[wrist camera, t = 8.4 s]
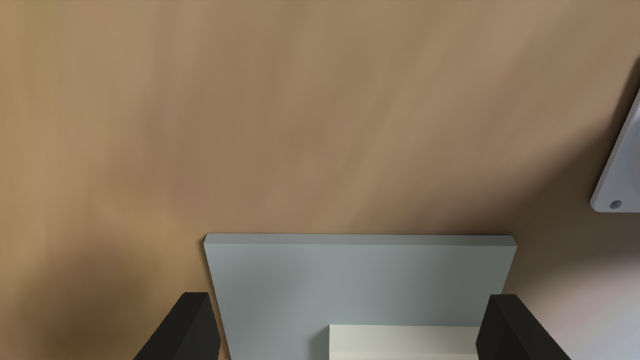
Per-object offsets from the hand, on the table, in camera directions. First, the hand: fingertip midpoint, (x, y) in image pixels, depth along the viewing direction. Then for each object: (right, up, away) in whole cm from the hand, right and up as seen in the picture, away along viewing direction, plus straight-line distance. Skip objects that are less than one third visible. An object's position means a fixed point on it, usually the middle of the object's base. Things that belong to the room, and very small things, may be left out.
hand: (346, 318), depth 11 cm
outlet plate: (+1, -6, +15) cm, 16 cm away
